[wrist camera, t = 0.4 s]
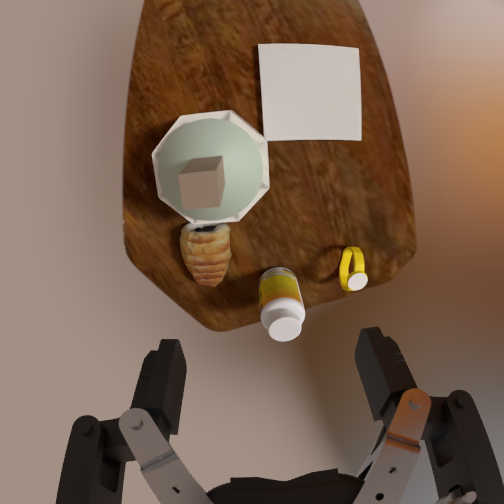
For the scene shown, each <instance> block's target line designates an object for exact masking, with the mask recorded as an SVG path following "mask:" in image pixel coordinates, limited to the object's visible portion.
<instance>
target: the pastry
mask: <svg viewBox="0 0 504 504" xmlns="http://www.w3.org/2000/svg"><path fill="white" fill-rule="evenodd" d="M229 231H230V228H229V226H228V225H227V224H224V223H209V224H196V225H194V224H192V223H188V224H186V225H185V226H184V227H183V228H182V230H181V237H180V248H181V252H182V258H183V259H184V262H185V265H186V266H187V268H188V270H189V271H190V272H191V274H192V276H193V278H194V279H195V281H196V282H197V283H199V284H201V285H209V286H212V287H215V286H216V285H218V284H219V283H220V282H221V281H222V280H223V278H224V275H225V274H226V270H227V268H228V261H229V259H230V257H231V251H230V238H229Z"/></svg>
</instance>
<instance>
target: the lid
mask: <svg viewBox="0 0 504 504" xmlns="http://www.w3.org/2000/svg"><path fill="white" fill-rule="evenodd" d="M262 177H263V163H262V158H261V154H260V151H259V149H258V147H257V145H256V143H255V142H254V140H253V139H252V138H251V136H250V135H249V134H248V133H247V132H246V131H245V130H243V129H242V128H241V127H239V126H237V125H236V124H234V123H231V122H229V121H226V120H222V119H214V118H208V119H200V120H196V121H193V122H190V123H188V124H186V125H184V126H182V127H181V128H179V129H178V130H177V131H175V132H174V133H173V134H172V135H171V136H170V138H169V139H168V140H167V141H166V143H165V145H164V146H163V148H162V151H161V153H160V156H159V161H158V178H159V183H160V186H161V188H162V191H163V193H164V195H165V196H166V198H167V199H168V201H169V202H170V203H171V204H172V205H173V206H174V207H175V208H176V209H178V210H179V211H180V212H182V213H183V214H185V215H187V216H190V217H192V218H195V219H199V220H206V221H216V220H222V219H226V218H229V217H231V216H234V215H236V214H238V213H239V212H241V211H242V210H243V209H245V208H246V207H247V206H248V205H249V204H250V203H251V202H252V200H253V199H254V198H255V196H256V194H257V193H258V190H259V188H260V185H261V182H262Z"/></svg>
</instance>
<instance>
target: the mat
mask: <svg viewBox="0 0 504 504" xmlns="http://www.w3.org/2000/svg"><path fill="white" fill-rule="evenodd" d="M258 52H259V66H260V81H261V97H262V113H263V130H264V137H265V139H266V141H277V140H361V84H360V65H359V50H358V48H350V47H340V46H328V45H312V44H258Z"/></svg>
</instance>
